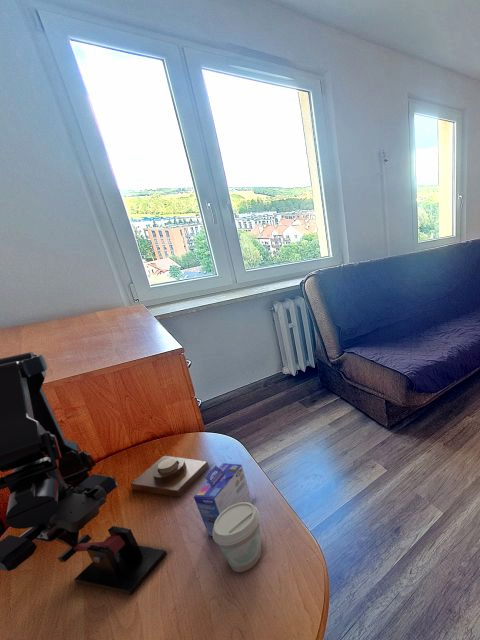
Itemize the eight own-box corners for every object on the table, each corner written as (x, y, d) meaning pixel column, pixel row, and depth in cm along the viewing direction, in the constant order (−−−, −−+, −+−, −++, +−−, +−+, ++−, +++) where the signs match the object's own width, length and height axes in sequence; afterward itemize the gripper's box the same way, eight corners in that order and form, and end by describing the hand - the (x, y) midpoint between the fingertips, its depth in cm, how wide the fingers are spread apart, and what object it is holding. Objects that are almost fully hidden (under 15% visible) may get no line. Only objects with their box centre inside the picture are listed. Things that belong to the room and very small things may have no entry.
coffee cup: (222, 587, 66) (208, 546, 62) (224, 549, 73) (212, 509, 69) (269, 566, 70) (259, 526, 65) (266, 532, 77) (257, 493, 72)
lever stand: (75, 583, 66) (58, 553, 63) (116, 544, 74) (102, 516, 71) (131, 595, 65) (116, 565, 61) (167, 553, 72) (155, 525, 69)
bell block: (132, 489, 87) (128, 478, 86) (166, 461, 97) (162, 450, 95) (179, 497, 85) (175, 485, 84) (209, 467, 95) (205, 456, 93)
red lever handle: (62, 564, 68) (55, 556, 67) (89, 540, 72) (82, 532, 72) (107, 561, 64) (100, 553, 64) (132, 537, 69) (126, 528, 68)
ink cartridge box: (233, 498, 85) (220, 454, 80) (253, 500, 84) (242, 456, 79) (205, 535, 76) (189, 488, 71) (228, 538, 75) (213, 490, 70)
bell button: (155, 472, 88) (153, 467, 87) (168, 461, 92) (167, 456, 91) (168, 474, 88) (167, 469, 87) (181, 463, 91) (179, 458, 91)
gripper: (12, 543, 54) (51, 603, 59) (126, 458, 71) (148, 511, 77) (-41, 533, 55) (2, 592, 61) (83, 452, 73) (107, 504, 78)
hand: (73, 545), depth 69 cm, fingers closed, pressing on red lever handle
